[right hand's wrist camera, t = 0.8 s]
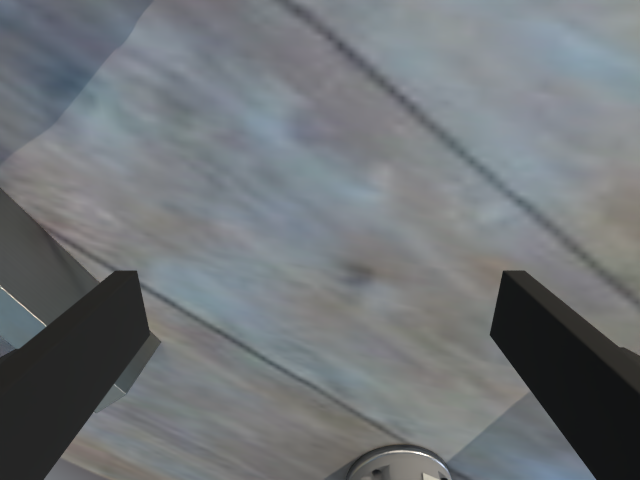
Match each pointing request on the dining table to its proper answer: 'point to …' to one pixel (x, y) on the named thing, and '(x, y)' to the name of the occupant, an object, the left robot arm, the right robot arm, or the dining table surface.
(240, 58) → the dining table surface
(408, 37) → the dining table surface
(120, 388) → the bar
